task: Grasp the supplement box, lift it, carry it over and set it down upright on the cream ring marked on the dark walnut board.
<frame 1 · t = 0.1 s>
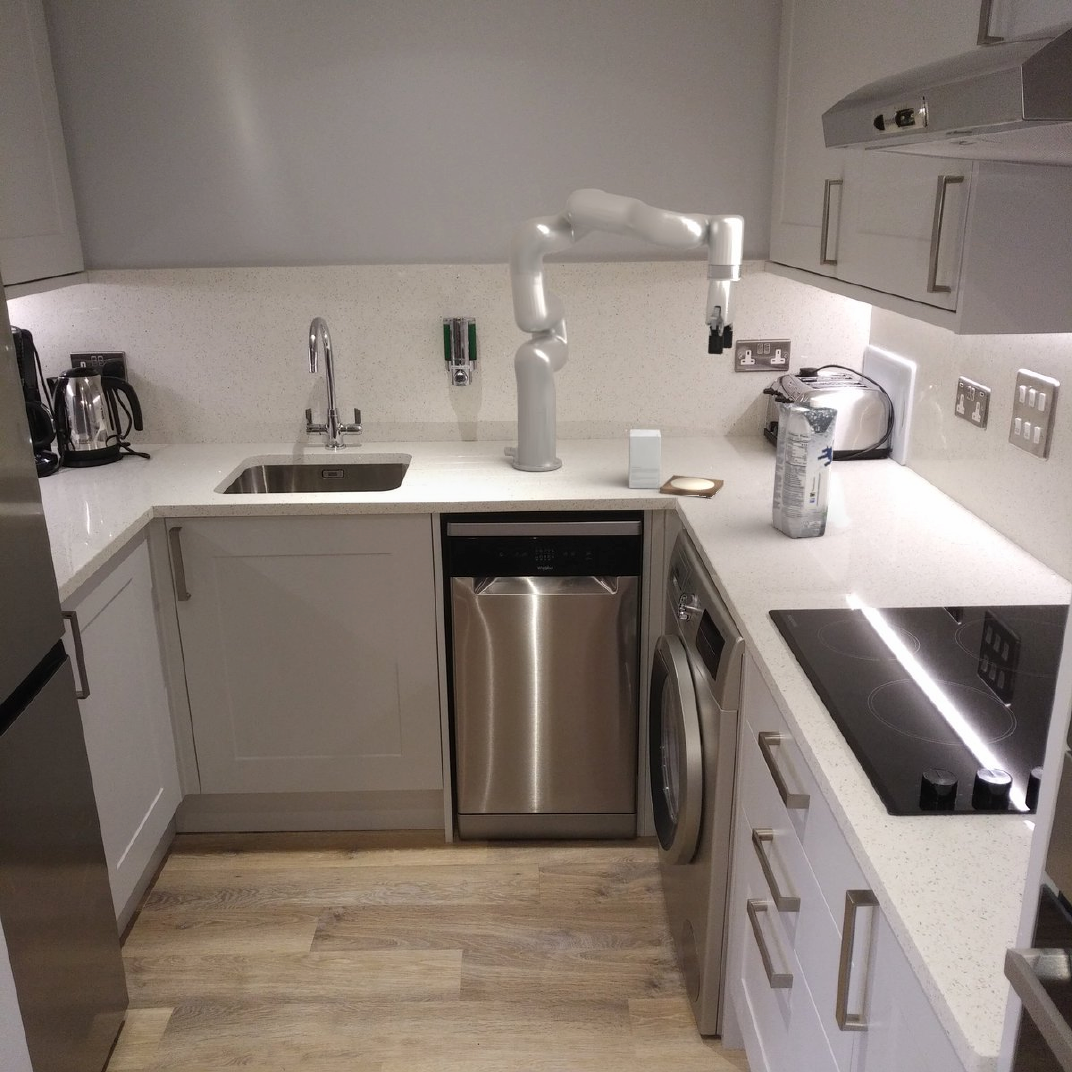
hand: (720, 350, 229), 31 cm above the countertop, tool pointing down, fingers open, 9 cm apart
supplement box: (643, 485, 239), on the countertop
target board: (692, 489, 235), on the countertop
juice carton: (797, 532, 205), on the countertop
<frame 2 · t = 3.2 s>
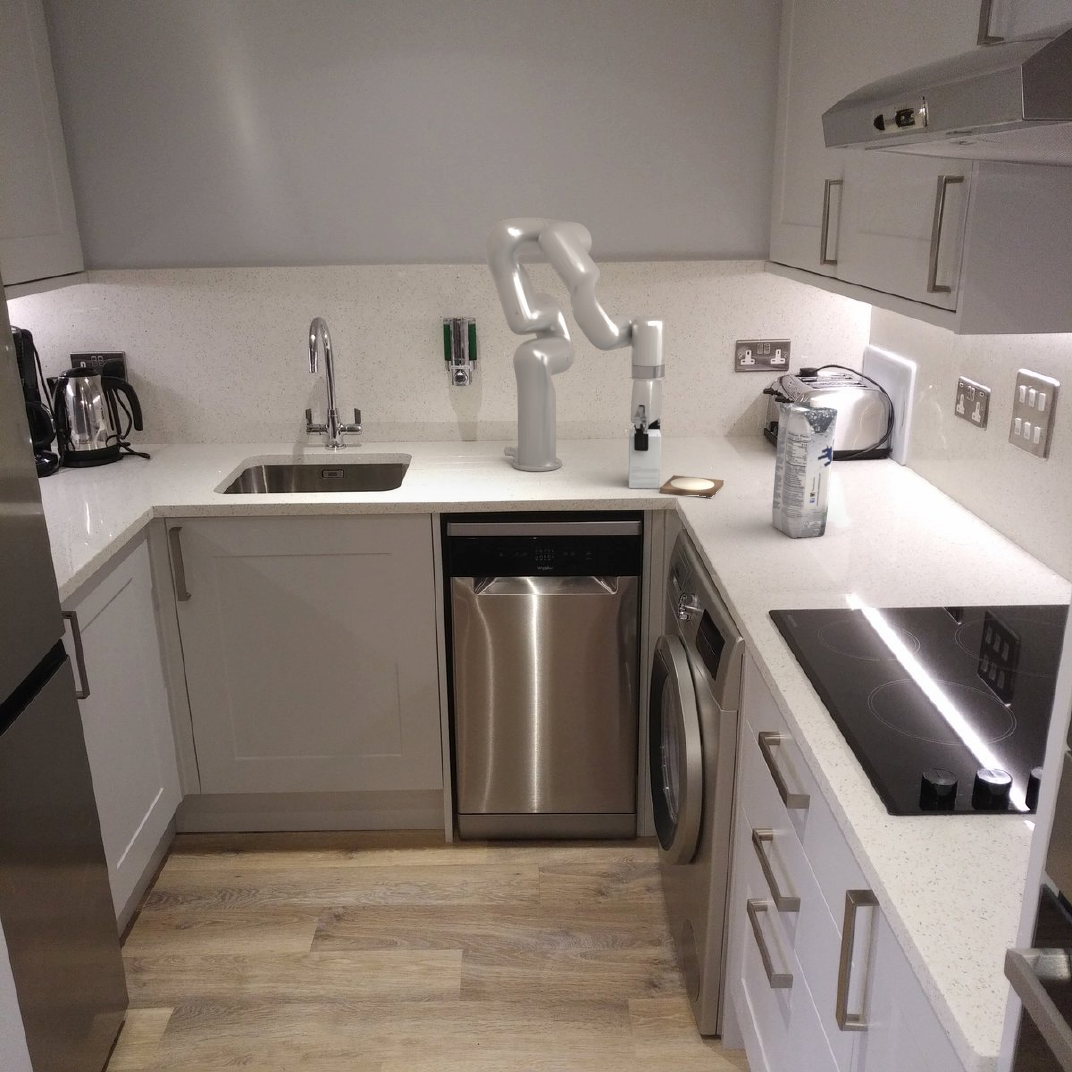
hand: (647, 446, 235), 9 cm above the countertop, tool pointing down, fingers open, 9 cm apart
nothing on the countertop moved.
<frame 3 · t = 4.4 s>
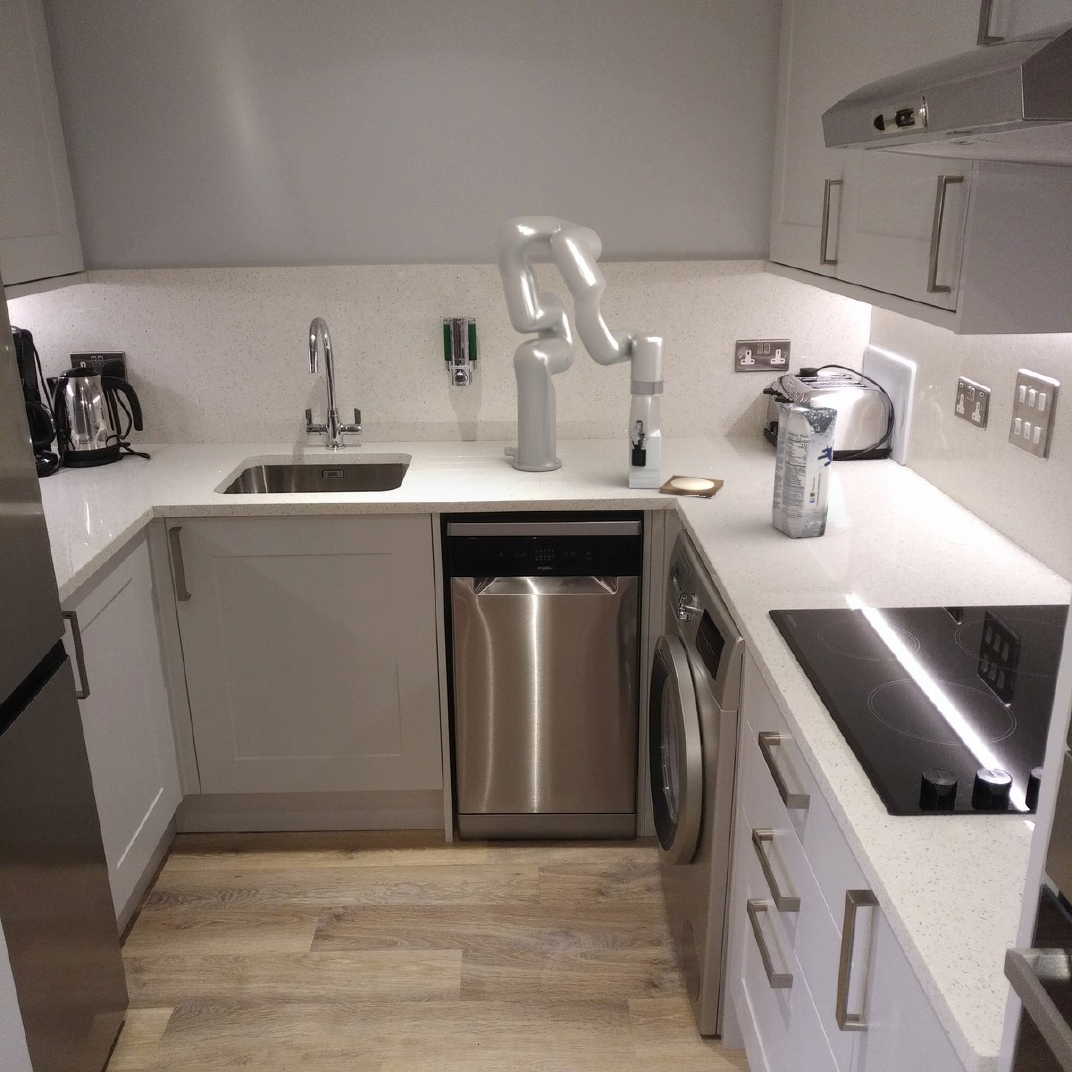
hand: (644, 461, 237), 6 cm above the countertop, tool pointing down, fingers closed on supplement box, 8 cm apart
supplement box: (643, 485, 239), on the countertop, touching gripper
everything else where it was.
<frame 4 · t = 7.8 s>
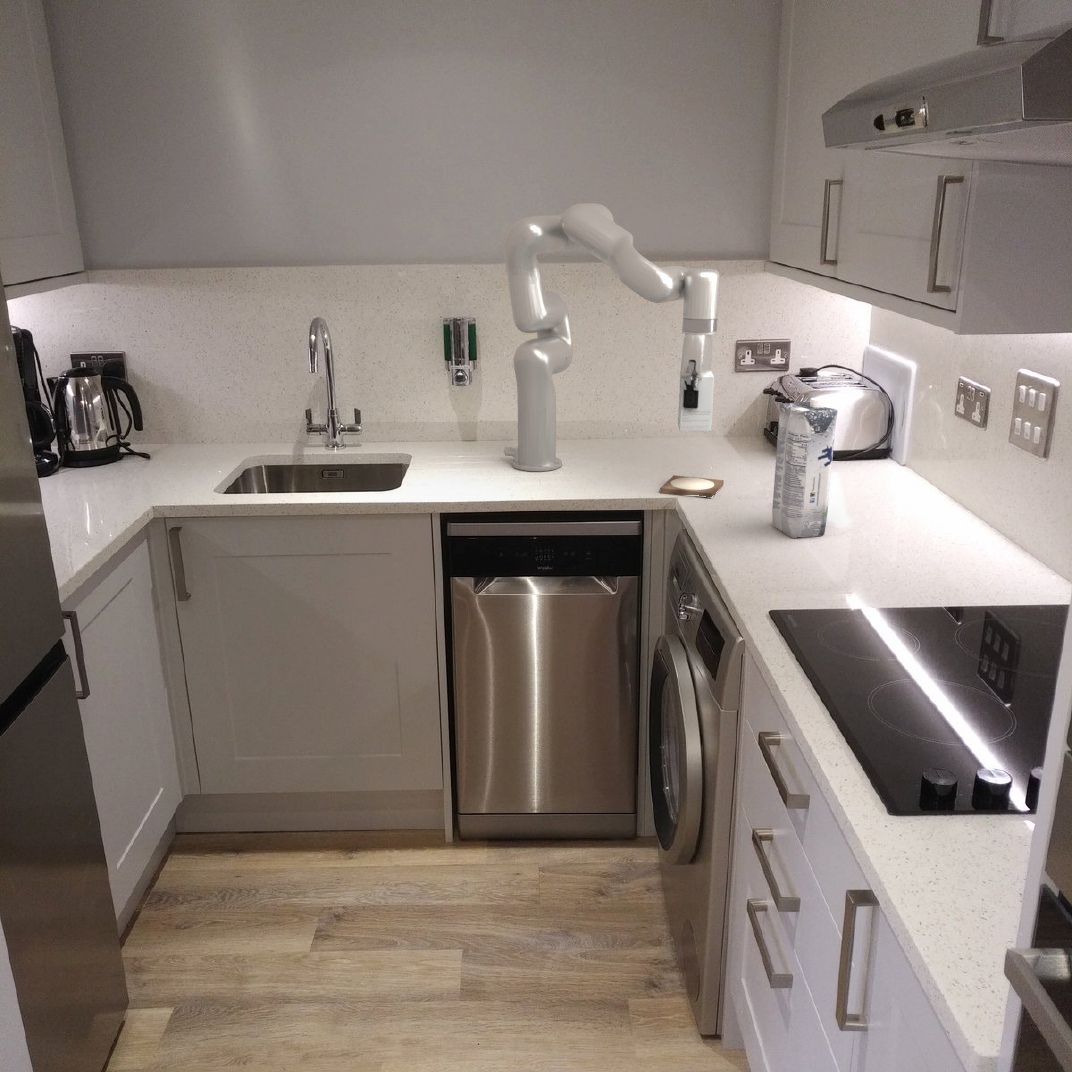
hand: (695, 403, 229), 20 cm above the countertop, tool pointing down, fingers closed on supplement box, 8 cm apart
supplement box: (694, 429, 231), point 14 cm above the countertop, touching gripper
everything else where it was.
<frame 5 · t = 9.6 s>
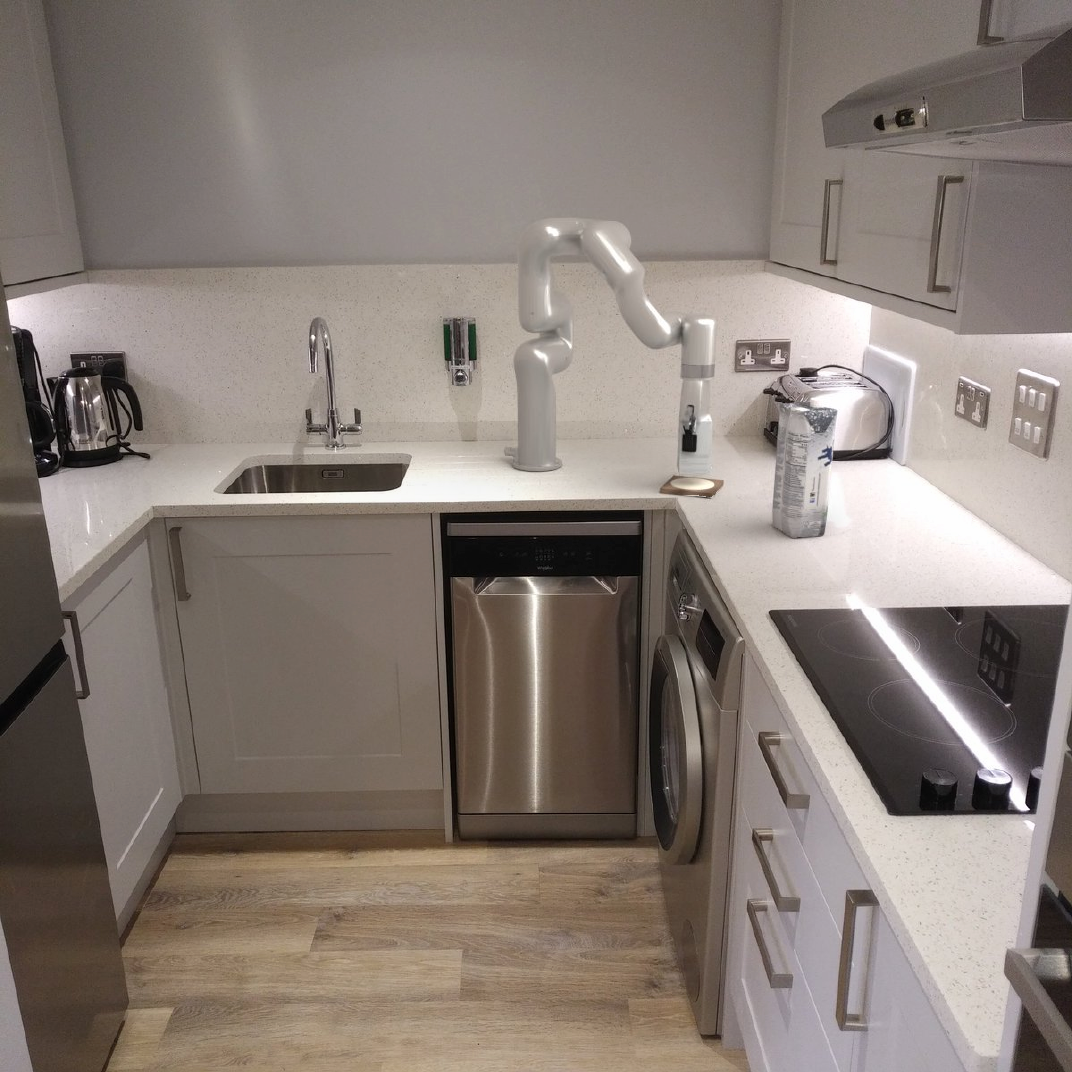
hand: (694, 447, 232), 10 cm above the countertop, tool pointing down, fingers closed on supplement box, 8 cm apart
supplement box: (693, 471, 234), point 4 cm above the countertop, touching gripper
everything else where it was.
when the fingers open (8 cm above the countertop, at t = 11.1 s): supplement box drops 1 cm, resting on target board.
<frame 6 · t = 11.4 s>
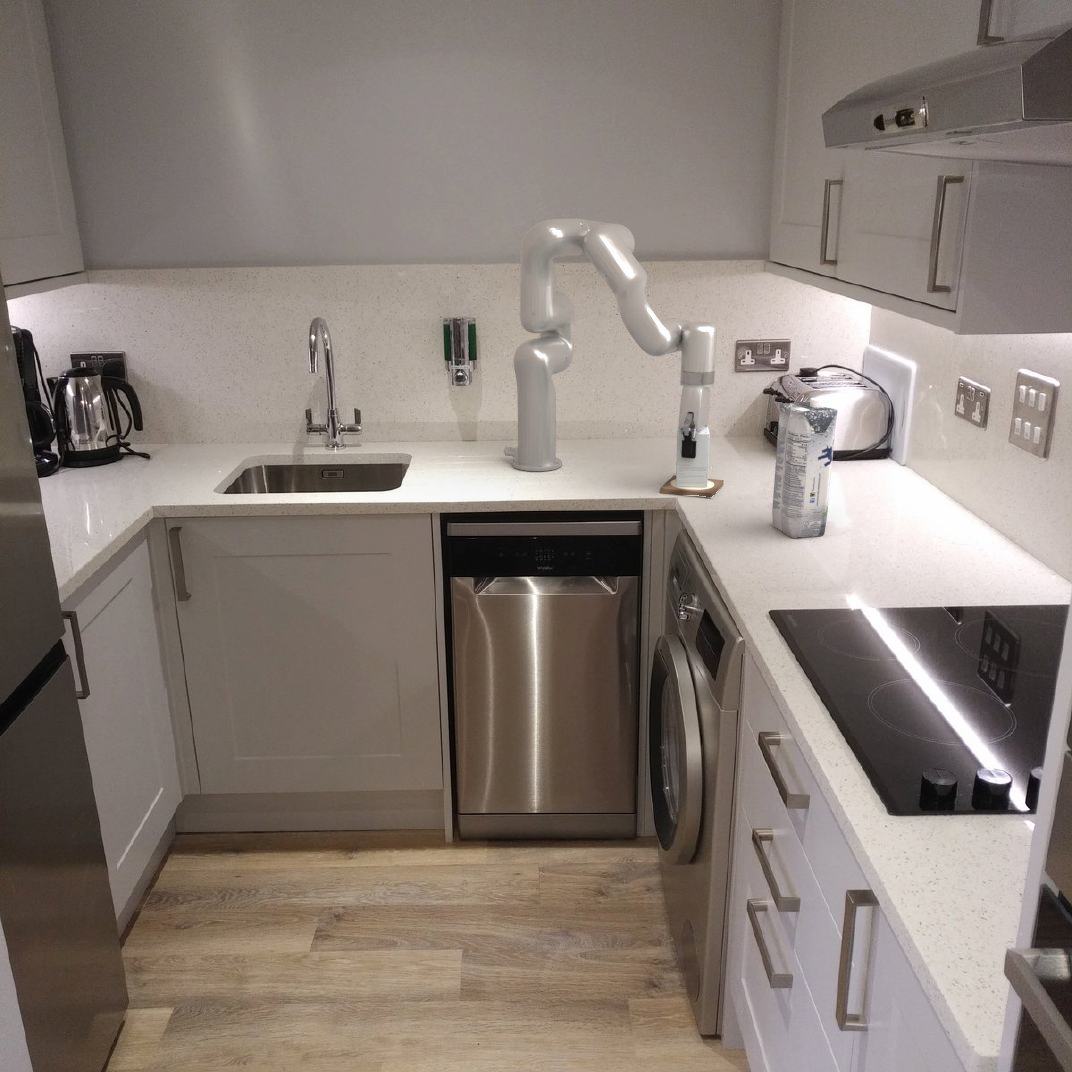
hand: (693, 452, 232), 9 cm above the countertop, tool pointing down, fingers open, 9 cm apart
supplement box: (691, 484, 235), point 1 cm above the countertop, touching target board
everything else where it was.
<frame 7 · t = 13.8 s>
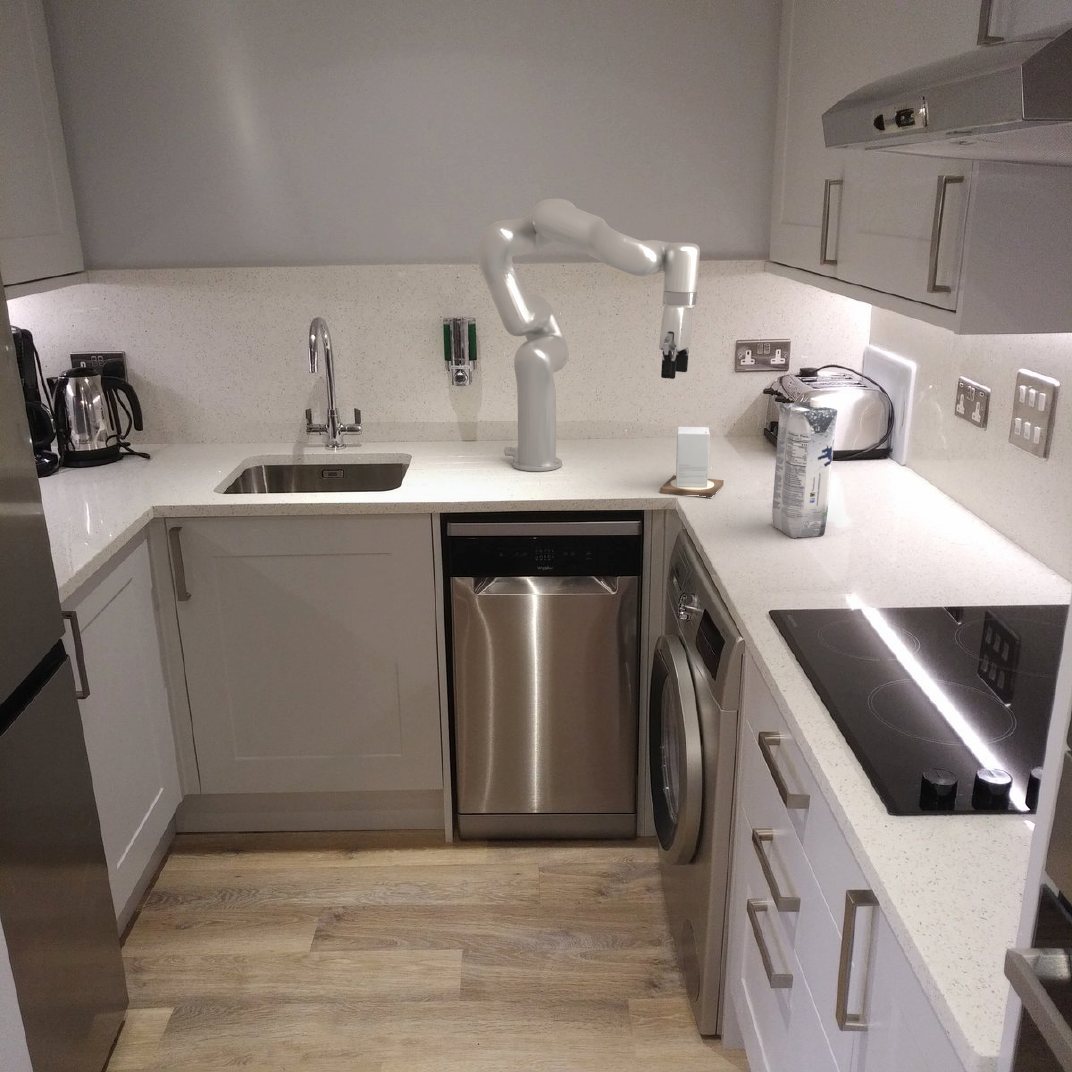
hand: (674, 374, 235), 25 cm above the countertop, tool pointing down, fingers open, 9 cm apart
nothing on the countertop moved.
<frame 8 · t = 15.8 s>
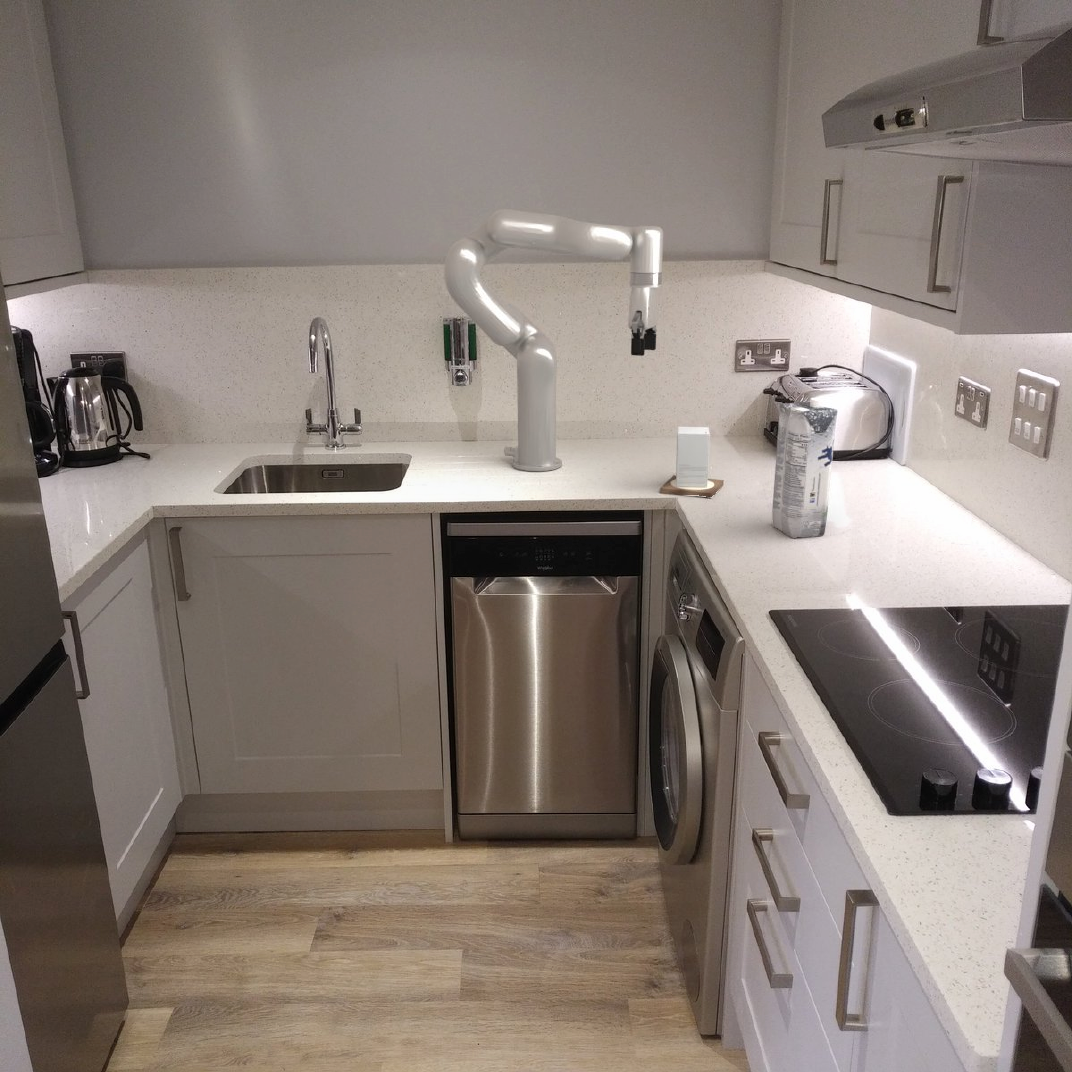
hand: (643, 352, 247), 28 cm above the countertop, tool pointing down, fingers open, 9 cm apart
nothing on the countertop moved.
at the end: supplement box 0.3 cm off-centre on the target board, point 1.1 cm above the target board's base; supplement box tilted 0°; the gripper is holding nothing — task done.
